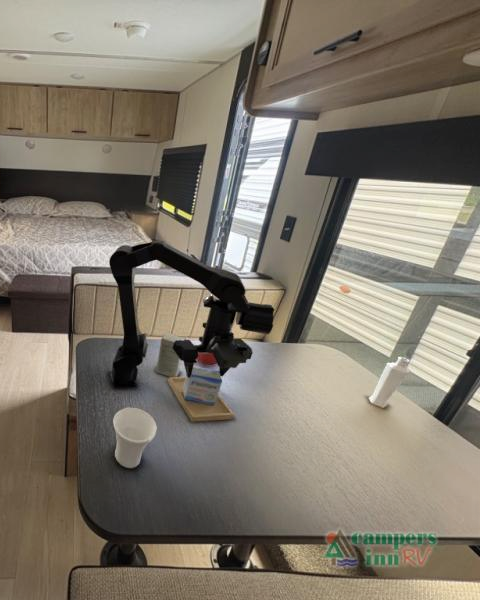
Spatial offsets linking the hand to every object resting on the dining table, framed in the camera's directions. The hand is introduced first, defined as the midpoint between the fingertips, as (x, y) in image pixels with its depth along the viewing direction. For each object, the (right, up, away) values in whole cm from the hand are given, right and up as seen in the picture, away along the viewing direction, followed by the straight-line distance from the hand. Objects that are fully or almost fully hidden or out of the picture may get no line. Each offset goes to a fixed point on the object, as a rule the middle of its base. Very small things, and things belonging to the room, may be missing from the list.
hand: (204, 376), depth 80 cm
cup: (-22, -14, -14) cm, 30 cm away
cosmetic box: (-6, -2, +14) cm, 15 cm away
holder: (0, -7, +3) cm, 8 cm away
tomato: (+8, -1, +19) cm, 21 cm away
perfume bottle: (+52, -9, +6) cm, 53 cm away
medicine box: (-1, -7, +3) cm, 8 cm away
